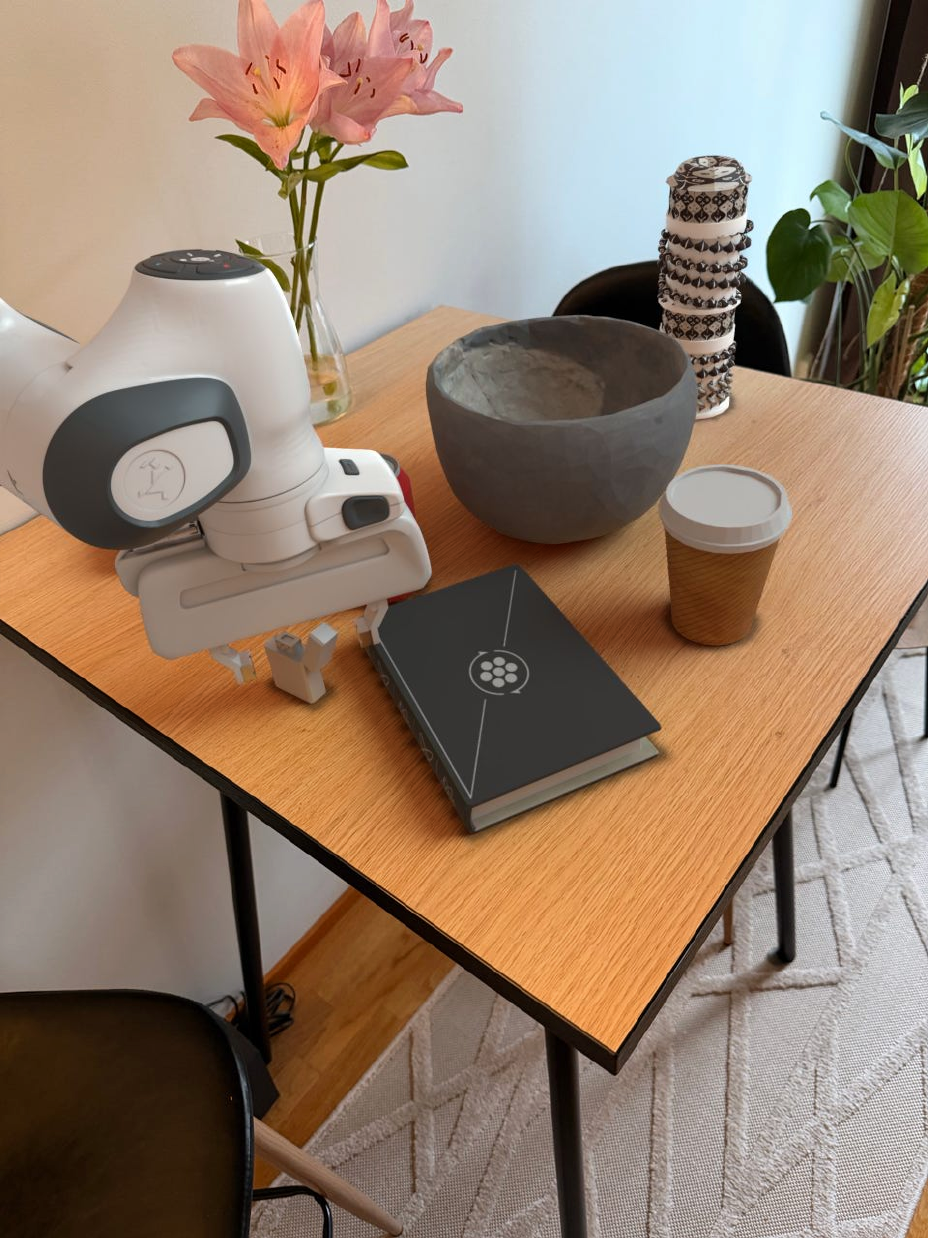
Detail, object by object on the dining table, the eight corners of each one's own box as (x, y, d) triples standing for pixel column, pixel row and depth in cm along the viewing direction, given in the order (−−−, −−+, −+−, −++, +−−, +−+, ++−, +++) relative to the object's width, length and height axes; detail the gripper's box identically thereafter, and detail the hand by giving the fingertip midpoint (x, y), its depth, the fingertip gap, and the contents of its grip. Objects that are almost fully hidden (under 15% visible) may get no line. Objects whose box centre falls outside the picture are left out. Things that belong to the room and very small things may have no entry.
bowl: (495, 430, 101) (486, 297, 92) (715, 463, 92) (730, 318, 83) (390, 553, 85) (366, 405, 75) (645, 607, 76) (654, 448, 66)
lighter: (274, 685, 72) (251, 607, 67) (289, 672, 73) (267, 594, 68) (340, 719, 69) (321, 639, 63) (355, 705, 70) (337, 625, 64)
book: (359, 645, 75) (353, 618, 73) (519, 589, 79) (518, 562, 77) (467, 838, 59) (463, 808, 57) (660, 755, 63) (663, 726, 61)
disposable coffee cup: (798, 627, 72) (823, 499, 64) (708, 677, 69) (724, 547, 61) (713, 571, 79) (727, 448, 71) (627, 613, 75) (632, 489, 68)
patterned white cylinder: (740, 419, 99) (770, 170, 83) (653, 423, 100) (667, 178, 84) (726, 381, 106) (752, 146, 90) (646, 386, 107) (657, 153, 91)
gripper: (107, 572, 55) (174, 728, 64) (426, 488, 59) (447, 646, 68) (103, 520, 60) (166, 672, 69) (399, 445, 64) (422, 598, 73)
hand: (308, 658), depth 68 cm, fingers open, 8 cm apart
